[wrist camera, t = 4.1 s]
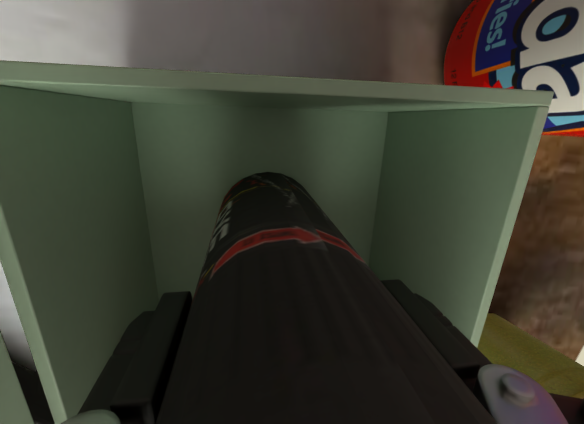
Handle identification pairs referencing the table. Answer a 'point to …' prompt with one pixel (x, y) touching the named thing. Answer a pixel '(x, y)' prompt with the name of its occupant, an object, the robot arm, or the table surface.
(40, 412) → the electric trimmer
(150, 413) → the robot arm
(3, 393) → the flap
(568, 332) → the table surface
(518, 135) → the carton
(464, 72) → the soda can
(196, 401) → the deodorant
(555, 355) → the plant pot
